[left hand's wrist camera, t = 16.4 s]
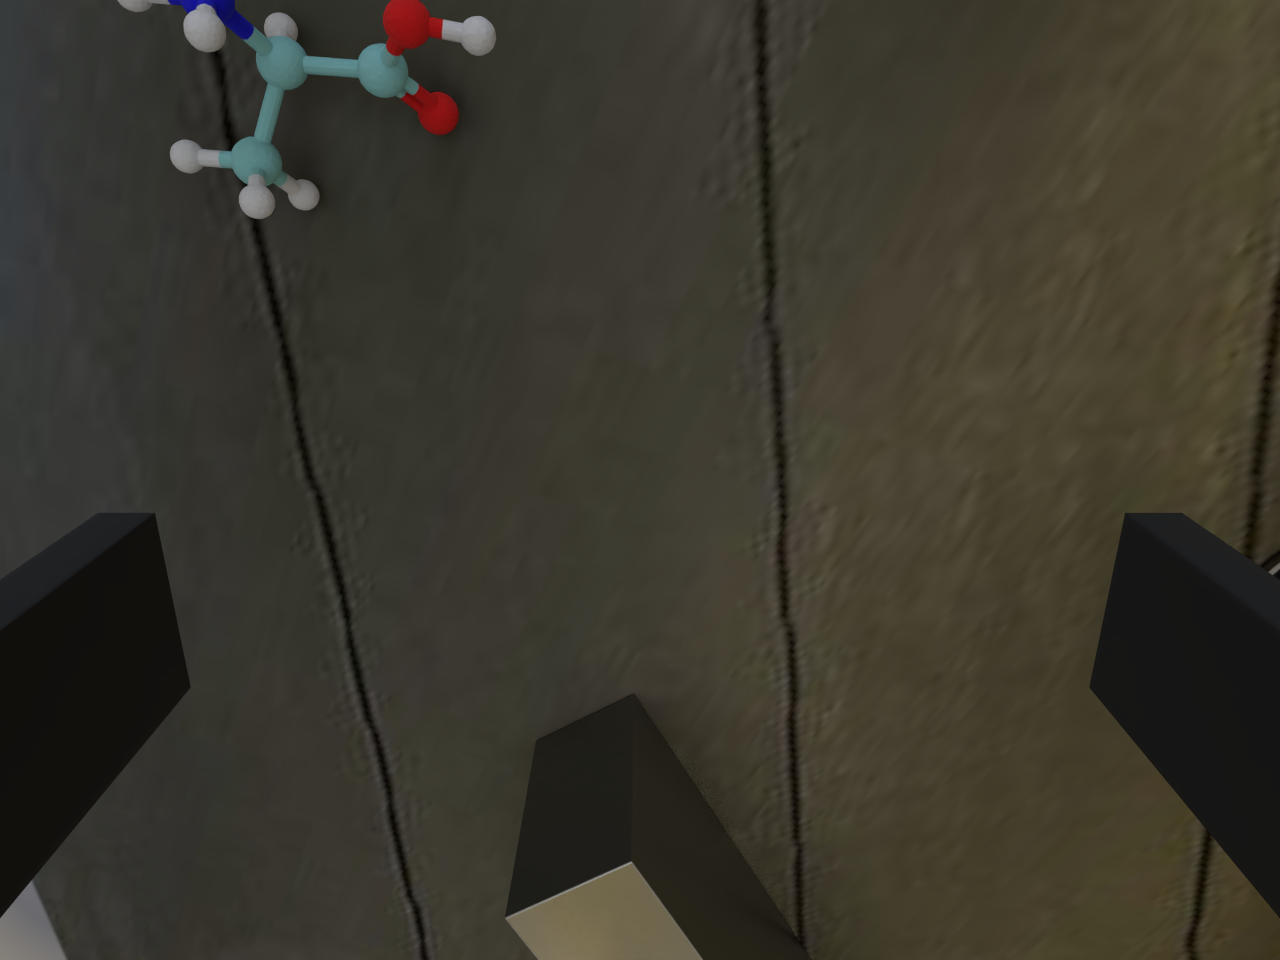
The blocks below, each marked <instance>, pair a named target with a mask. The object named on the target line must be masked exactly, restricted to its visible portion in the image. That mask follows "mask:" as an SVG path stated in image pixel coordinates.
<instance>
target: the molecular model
mask: <svg viewBox="0 0 1280 960" xmlns="http://www.w3.org/2000/svg"><path fill="white" fill-rule="evenodd" d="M118 2H119V3H120V4H121V5H122V6H123V7H124V8H126V9H128V10H130V11H134V12H142V11H146V10H148V9H149V8H150V7H151V6H152V4H153V3H159V4H173V5H182V6H183V8H184V9H185V10H186V12H187V13H188V15H187V16H186V17H185V20H184V33H185V36H186V38H187V39H188V41H189V42H190V43H191V44H192V45H193V46H194V47H195V48H196V49H198V50H200V51H204V52H214V51H217V50H219V49H220V48H221V47H222V46H223V45H224V43H225V39H226V30H225V26H224V24H225V25H226V26H227V27H228V28H230V29H231V30H232V31H233V32H234V33H235V34H237V35H238V36H239V37H240V38H241V39H242V40H244V41H245V42H246V43H247V44H248V45H249V46H251V47H252V48H253V49H254V50H255V51H257V53H256V63H257V67H258V70H259V72H260V74H261V76H262V77H263V78H264V79H265V80H266V81H267V82H268V85H267V88H266V92H265V96H264V100H263V104H262V108H261V111H260V115H259V119H258V123H257V127H256V131H255V134H254V137H246V138H244V139H242V140H240V141H239V142H237V143H236V144H235V146H234V147H233V149H232V152H230V151H218V150H205V149H202V148H201V147H200V146H199V145H198V144H197V143H195V142H193V141H190V140H180V141H178V142H176V143H174V144H173V146H172V147H171V151H170V157H171V161H172V163H173V164H174V165H175V167H176V168H177V169H179V170H180V171H182V172H186V173H195V172H197V171H200V170H201V169H202V168H203V166H208V167H220V168H232V169H233V170H234V172H235V174H236V175H237V176H238V178H239V179H240V180H242V181H243V182H244V183H246V184H248V186H246V187H245V188H244V189H242V191H241V192H240V195H239V204H240V206H241V209H242V210H243V211H244V212H245V214H247V215H248V216H250V217H252V218H256V219H263V218H266V217H268V216H269V215H270V214H271V213H272V212H273V210H274V208H275V199H274V196H273V194H272V193H271V192H270V191H269V189H268V188H266V186H268V185H270V184H272V183H274V184H275V185H277V186H278V187H280V188H281V189H283V190H284V191H285V192H287V193H288V197H289V200H290V202H291V203H292V204H293V206H295V207H296V208H298V209H300V210H310V209H312V208H314V207H315V206H316V205H317V204H318V201H319V191H318V189H317V188H316V186H315V185H314V184H313V183H312V182H310V181H308V180H304V179H300V180H297V181H296V180H295V179H293V178H292V177H291V176H289V175H288V174H286V173H285V172H284V171H282V160H281V156H280V154H279V152H278V150H277V149H276V148H275V146H274V145H273V144H272V143H271V141H272V137H273V133H274V129H275V126H276V122H277V118H278V114H279V110H280V106H281V103H282V99H283V95H284V92H285V90H292V89H294V88H297V87H299V86H300V85H301V84H303V83H304V81H305V80H306V78H307V76H308V74H314V75H327V76H339V77H352V78H359V80H360V82H361V84H362V85H363V86H364V87H365V89H366V90H367V91H368V92H370V93H371V94H373V95H375V96H378V97H381V98H388V97H393V96H397V97H398V98H400V99H401V100H402V101H404V102H405V103H406V104H408V105H409V106H410V107H412V108H413V109H414V110H416V111H417V112H418V117H419V120H420V123H421V124H422V125H423V127H424V128H425V129H426V130H427V131H429V132H430V133H433V134H436V135H443V134H447V133H449V132H451V131H452V130H453V129H454V128H455V126H456V124H457V122H458V118H459V112H458V108H457V105H456V103H455V102H454V101H453V99H452V98H451V97H450V96H448V95H447V94H445V93H442V92H432V93H429V92H428V91H427V90H425V89H424V88H423V87H422V86H420V85H419V84H418V83H416V82H415V81H414V80H413V79H411V78H410V77H409V76H408V67H407V64H406V61H405V59H404V57H403V56H402V53H403V51H404V50H405V48H407V49H414V48H416V47H418V46H420V45H422V44H423V43H425V42H426V40H427V39H428V37H433V38H439V39H444V40H449V41H454V42H460V43H462V45H463V47H464V48H465V49H466V50H467V51H468V52H469V53H470V54H473V55H476V56H482V55H485V54H487V53H489V52H490V51H491V50H492V49H493V47H494V45H495V41H496V34H495V30H494V27H493V25H492V24H491V23H490V22H489V21H488V20H487V19H486V18H484V17H481V16H473V17H470V18H468V19H467V20H465V21H464V23H459V22H454V21H449V20H444V19H439V18H433V17H430V14H429V12H428V10H427V9H426V8H425V6H424V5H423V4H422V3H421V2H420V1H419V0H391V1H390V2H389V3H388V5H387V6H386V9H385V12H384V14H383V25H384V28H385V31H386V33H387V35H388V36H389V38H388V40H387V43H386V44H382V43H379V44H373V45H370V46H368V47H367V48H366V49H364V50H363V51H362V53H361V54H360V56H359V58H358V60H352V59H339V58H328V57H315V56H307V55H306V53H305V51H304V50H303V48H302V47H301V46H300V45H299V43H297V42H296V40H297V37H298V29H297V26H296V23H295V22H294V21H293V19H292V18H290V17H289V16H288V15H286V14H284V13H273V14H271V15H269V16H268V17H267V19H266V21H265V24H264V31H265V34H266V36H267V38H266V37H265V36H264V35H263V34H262V33H261V32H260V31H258V30H257V29H256V28H255V27H254V26H253V25H252V24H251V23H249V22H248V21H247V20H246V19H245V18H244V17H243V16H242V15H240V14H239V13H238V12H237V11H236V10H235V0H118ZM223 23H224V24H223Z"/></svg>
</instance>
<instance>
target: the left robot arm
mask: <svg viewBox="0 0 1280 960" xmlns="http://www.w3.org/2000/svg"><path fill="white" fill-rule="evenodd" d="M189 689H190V682H189V677H188V672H187V668H186V663H185V658H184V653H183V648H182V643H181V638H180V634H179V629H178V624H177V619H176V614H175V609H174V604H173V599H172V595H171V590H170V585H169V580H168V575H167V570H166V565H165V561H164V556H163V551H162V546H161V541H160V536H159V531H158V526H157V522H156V517H155V513H97V514H96V515H95V516H93V517H92V518H90V519H89V520H87V521H86V522H84V523H83V524H81V525H80V526H78V527H77V528H76V529H74V530H73V531H71V532H70V533H68V534H67V535H65V536H64V537H62V538H61V539H59V540H58V541H56V542H55V543H54V544H52V545H51V546H49V547H48V548H46V549H45V550H43V551H42V552H40V553H39V554H37V555H36V556H35V557H33V558H32V559H30V560H29V561H27V562H26V563H24V564H23V565H21V566H20V567H18V568H17V569H15V570H14V571H13V572H11V573H10V574H8V575H7V576H5V577H4V578H2V579H1V580H0V918H1V916H2V915H3V914H4V913H5V912H6V910H7V909H8V908H9V907H10V906H11V904H12V903H13V902H14V901H15V899H16V898H17V897H18V896H19V895H20V893H21V892H22V891H23V890H24V889H25V887H26V886H27V885H28V884H29V883H30V881H31V880H32V879H33V878H34V876H35V875H36V874H37V873H38V872H39V870H40V869H41V868H42V867H43V866H44V864H45V863H46V862H47V861H48V860H49V858H50V857H51V856H52V855H53V853H54V852H55V851H56V850H57V849H58V847H59V846H60V845H61V844H62V843H63V841H64V840H65V839H66V838H67V836H68V835H69V834H70V833H71V832H72V830H73V829H74V828H75V827H76V826H77V824H78V823H79V822H80V821H81V820H82V818H83V817H84V816H85V815H86V813H87V812H88V811H89V810H90V809H91V807H92V806H93V805H94V804H95V803H96V801H97V800H98V799H99V798H100V797H101V795H102V794H103V793H104V792H105V790H106V789H107V788H108V787H109V786H110V784H111V783H112V782H113V781H114V780H115V778H116V777H117V776H118V775H119V773H120V772H121V771H122V770H123V769H124V767H125V766H126V765H127V764H128V763H129V761H130V760H131V759H132V758H133V757H134V755H135V754H136V753H137V752H138V750H139V749H140V748H141V747H142V746H143V744H144V743H145V742H146V741H147V740H148V738H149V737H150V736H151V735H152V734H153V732H154V731H155V730H156V729H157V727H158V726H159V725H160V724H161V723H162V721H163V720H164V719H165V718H166V717H167V715H168V714H169V713H170V712H171V710H172V709H173V708H174V707H175V706H176V704H177V703H178V702H179V701H180V700H181V698H182V697H183V696H184V695H185V694H186V692H187V691H188V690H189ZM1090 689H1091V690H1092V691H1093V692H1094V694H1095V695H1096V696H1097V697H1098V698H1099V700H1100V701H1101V702H1102V703H1103V704H1104V706H1105V707H1106V708H1107V709H1108V710H1109V712H1110V713H1111V714H1112V715H1113V717H1114V718H1115V719H1116V720H1117V721H1118V723H1119V724H1120V725H1121V726H1122V727H1123V729H1124V730H1125V731H1126V732H1127V734H1128V735H1129V736H1130V737H1131V738H1132V740H1133V741H1134V742H1135V743H1136V744H1137V746H1138V747H1139V748H1140V749H1141V750H1142V752H1143V753H1144V754H1145V755H1146V757H1147V758H1148V759H1149V760H1150V761H1151V763H1152V764H1153V765H1154V766H1155V767H1156V769H1157V770H1158V771H1159V772H1160V774H1161V775H1162V776H1163V777H1164V778H1165V780H1166V781H1167V782H1168V783H1169V784H1170V786H1171V787H1172V788H1173V789H1174V790H1175V792H1176V793H1177V794H1178V795H1179V797H1180V798H1181V799H1182V800H1183V801H1184V803H1185V804H1186V805H1187V806H1188V807H1189V809H1190V810H1191V811H1192V812H1193V813H1194V815H1195V816H1196V817H1197V818H1198V820H1199V821H1200V822H1201V823H1202V824H1203V826H1204V827H1205V828H1206V829H1207V830H1208V832H1209V833H1210V834H1211V835H1212V837H1213V838H1214V839H1215V840H1216V841H1217V843H1218V844H1219V845H1220V846H1221V847H1222V849H1223V850H1224V851H1225V852H1226V853H1227V855H1228V856H1229V857H1230V858H1231V860H1232V861H1233V862H1234V863H1235V864H1236V866H1237V867H1238V868H1239V869H1240V870H1241V872H1242V873H1243V874H1244V875H1245V876H1246V878H1247V879H1248V880H1249V881H1250V883H1251V884H1252V885H1253V886H1254V887H1255V889H1256V890H1257V891H1258V892H1259V893H1260V895H1261V896H1262V897H1263V898H1264V900H1265V901H1266V902H1267V903H1268V904H1269V906H1270V907H1271V908H1272V909H1273V910H1274V912H1275V913H1276V914H1277V915H1278V916H1279V918H1280V580H1279V579H1278V578H1276V577H1275V576H1273V575H1272V574H1270V573H1269V572H1267V571H1266V570H1265V569H1263V568H1262V567H1260V566H1259V565H1257V564H1256V563H1254V562H1253V561H1251V560H1250V559H1248V558H1247V557H1245V556H1244V555H1243V554H1241V553H1240V552H1238V551H1237V550H1235V549H1234V548H1232V547H1231V546H1229V545H1228V544H1226V543H1225V542H1224V541H1222V540H1221V539H1219V538H1218V537H1216V536H1215V535H1213V534H1212V533H1210V532H1209V531H1207V530H1206V529H1204V528H1203V527H1202V526H1200V525H1199V524H1197V523H1196V522H1194V521H1193V520H1191V519H1190V518H1188V517H1187V516H1185V515H1184V514H1183V513H1125V517H1124V522H1123V526H1122V531H1121V536H1120V541H1119V546H1118V551H1117V556H1116V561H1115V565H1114V570H1113V575H1112V580H1111V585H1110V590H1109V595H1108V599H1107V604H1106V609H1105V614H1104V619H1103V624H1102V629H1101V634H1100V638H1099V643H1098V648H1097V653H1096V658H1095V663H1094V668H1093V672H1092V677H1091V682H1090Z"/></svg>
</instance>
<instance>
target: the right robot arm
mask: <svg viewBox="0 0 1280 960" xmlns="http://www.w3.org/2000/svg"><path fill="white" fill-rule="evenodd" d="M1262 568H1263V569H1265V570H1266V571H1267V572H1269V573H1270V574H1272V575H1273V576H1275V577H1276V578H1278V579H1279V580H1280V554H1278V555H1277V556H1276V557H1274V558H1273V559H1272V560H1270V561H1269V562H1268V563H1267V564H1266V565H1265V566H1263V567H1262Z"/></svg>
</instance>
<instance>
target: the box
mask: <svg viewBox="0 0 1280 960" xmlns="http://www.w3.org/2000/svg"><path fill="white" fill-rule="evenodd" d="M505 919H506V920H507V922H508V923H509V924H510V925H511V927H512V928H513V929H514V930H515V932H516V933H517V934H518V935H519V936H520V938H521V939H522V940H523V941H524V943H525V944H526V945H527V946H528V948H529V949H530V950H531V951H532V953H533V954H534V955H535V956H536V957H537V959H538V960H811V959H810V957H809V956H808V954H807V953H806V951H805V950H804V948H803V947H802V945H801V944H800V942H799V941H798V939H797V938H796V936H795V935H794V933H793V932H792V930H791V929H790V927H789V926H788V924H787V923H786V921H785V920H784V918H783V917H782V915H781V914H780V912H779V911H778V909H777V908H776V906H775V905H774V903H773V902H772V900H771V899H770V897H769V896H768V894H767V893H766V891H765V890H764V888H763V887H762V885H761V884H760V882H759V881H758V879H757V878H756V876H755V875H754V873H753V872H752V870H751V869H750V867H749V866H748V864H747V863H746V861H745V860H744V858H743V857H742V855H741V854H740V852H739V851H738V849H737V848H736V846H735V845H734V843H733V842H732V840H731V839H730V837H729V836H728V834H727V833H726V831H725V830H724V828H723V827H722V825H721V824H720V822H719V821H718V819H717V818H716V816H715V815H714V813H713V812H712V810H711V809H710V807H709V806H708V804H707V803H706V801H705V800H704V798H703V797H702V795H701V794H700V792H699V791H698V789H697V788H696V786H695V785H694V783H693V782H692V780H691V779H690V777H689V776H688V774H687V773H686V771H685V770H684V768H683V767H682V765H681V764H680V762H679V761H678V759H677V758H676V756H675V755H674V753H673V752H672V750H671V749H670V747H669V746H668V744H667V743H666V741H665V740H664V738H663V737H662V735H661V734H660V732H659V731H658V729H657V728H656V726H655V725H654V723H653V722H652V720H651V719H650V717H649V716H648V714H647V713H646V711H645V710H644V708H643V707H642V705H641V704H640V702H639V701H638V699H637V698H636V696H635V695H634V694H633V695H631V696H628V697H626V698H624V699H622V700H620V701H618V702H616V703H614V704H612V705H610V706H608V707H606V708H604V709H602V710H600V711H597V712H595V713H593V714H591V715H589V716H587V717H585V718H583V719H581V720H579V721H577V722H575V723H573V724H571V725H569V726H566V727H564V728H562V729H560V730H558V731H556V732H554V733H552V734H550V735H548V736H546V737H544V738H542V739H540V740H538V741H536V744H535V750H534V756H533V761H532V767H531V773H530V778H529V784H528V790H527V795H526V801H525V807H524V813H523V818H522V824H521V830H520V835H519V841H518V847H517V853H516V858H515V864H514V870H513V875H512V881H511V887H510V893H509V898H508V904H507V910H506V915H505Z"/></svg>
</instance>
